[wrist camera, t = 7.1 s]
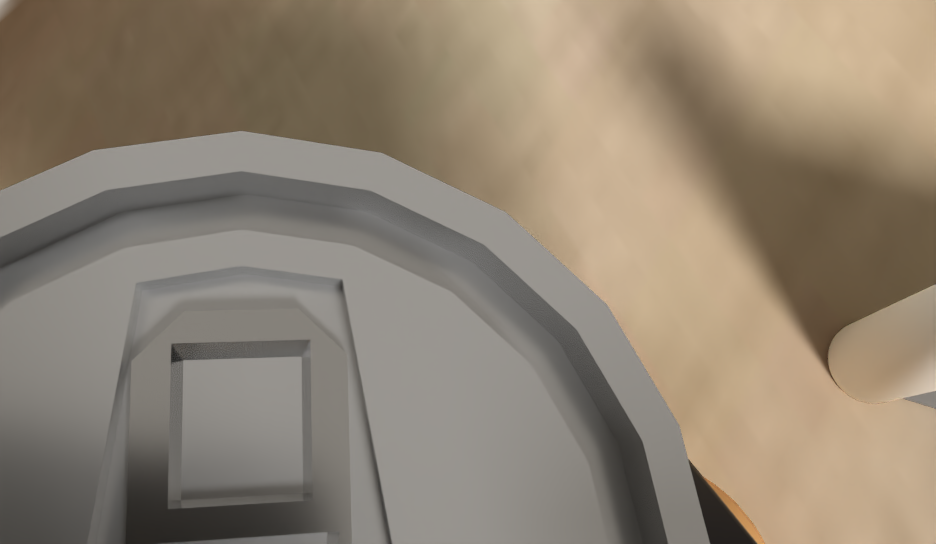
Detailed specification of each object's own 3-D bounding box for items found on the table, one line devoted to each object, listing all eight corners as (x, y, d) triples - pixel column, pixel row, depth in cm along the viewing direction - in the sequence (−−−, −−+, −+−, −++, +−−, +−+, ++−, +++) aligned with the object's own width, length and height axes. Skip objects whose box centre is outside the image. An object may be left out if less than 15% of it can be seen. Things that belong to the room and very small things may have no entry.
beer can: (144, 373, 16) (-317, 80, 4) (436, 363, 17) (698, 100, 5) (135, 692, 15) (-545, 1476, 3) (450, 661, 16) (835, 1171, 4)
